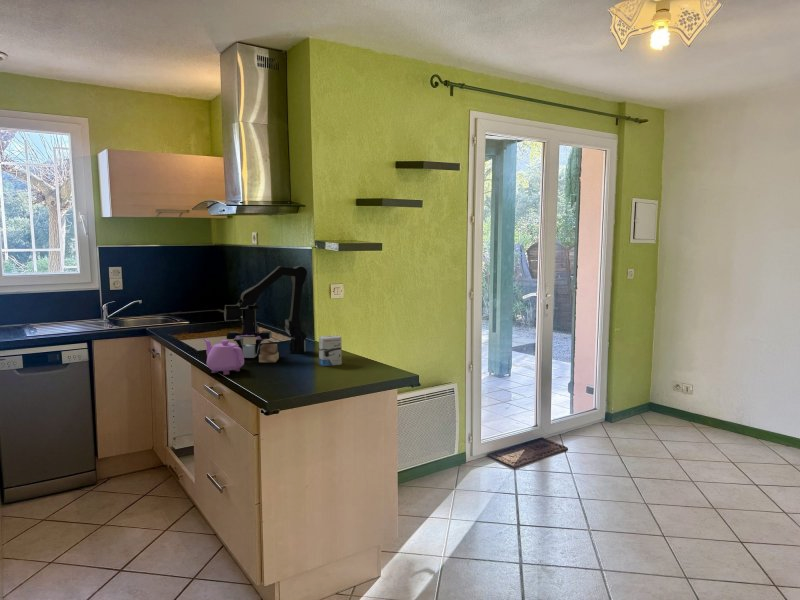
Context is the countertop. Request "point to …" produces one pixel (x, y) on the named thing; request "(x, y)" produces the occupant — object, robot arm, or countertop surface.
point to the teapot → (224, 357)
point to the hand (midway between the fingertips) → (249, 354)
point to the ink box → (330, 350)
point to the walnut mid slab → (268, 349)
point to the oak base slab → (269, 358)
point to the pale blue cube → (249, 351)
